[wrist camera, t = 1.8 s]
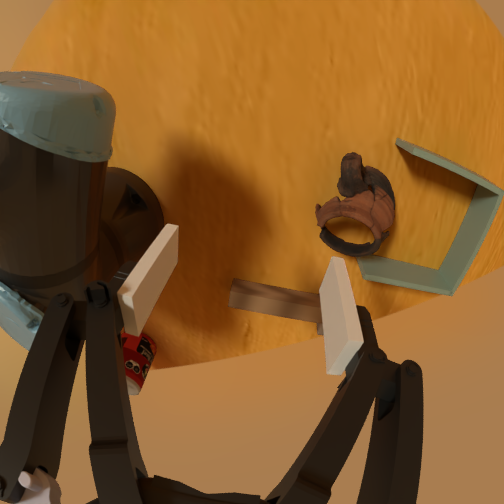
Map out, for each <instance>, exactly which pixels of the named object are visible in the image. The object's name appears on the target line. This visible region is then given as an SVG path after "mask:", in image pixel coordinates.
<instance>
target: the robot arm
mask: <svg viewBox="0 0 504 504" xmlns="http://www.w3.org/2000/svg"><path fill="white" fill-rule="evenodd" d="M115 116H116V106H115V102H114V100H113V98H112V96H111V95H110V94H109V93H108V92H107V91H106V90H105V89H103V88H102V87H100V86H98V85H96V84H93V83H90V82H88V81H84V80H81V79H77V78H73V77H69V76H64V75H59V74H52V73H44V72H33V71H21V72H0V326H1V327H2V328H3V330H5V332H6V333H8V334H9V335H10V336H11V337H12V338H13V339H14V340H15V341H17V342H18V343H19V344H20V345H21V346H23V347H24V348H26V349H27V350H28V351H29V353H28V356H27V358H26V361H25V364H24V367H23V369H22V373H21V375H20V379H19V382H18V385H17V388H16V391H15V395H14V398H13V402H12V406H11V410H10V414H9V418H8V422H7V426H6V431H5V436H4V440H3V442H2V444H1V446H0V500H2V501H5V502H7V503H10V504H61V503H60V497H61V490H60V487H59V484H58V483H57V481H56V480H55V479H56V477H57V473H58V469H59V464H60V458H61V450H62V442H63V435H64V429H65V423H66V417H67V412H68V406H69V402H70V397H71V392H72V387H73V383H74V379H75V375H76V371H77V367H78V362H79V359H80V356H81V352H82V348H83V345H84V341H85V340H86V386H87V401H88V413H89V422H90V431H91V438H92V442H91V444H90V446H89V455H90V460H91V466H92V471H93V476H94V481H95V486H96V490H97V494H98V498H96V499H94V500H92V501H90V502H88V503H86V504H327V502H328V500H329V499H330V496H331V487H332V485H333V484H334V482H335V480H336V478H337V477H338V475H339V473H340V471H341V469H342V467H343V466H344V464H345V462H346V460H347V458H348V456H349V454H350V452H351V450H352V448H353V445H354V444H355V442H356V440H357V438H358V435H359V433H360V431H361V429H362V427H363V425H364V422H365V420H366V418H367V415H368V413H369V411H370V408H371V406H372V403H373V401H374V398H375V397H376V399H375V407H374V416H373V423H372V430H371V437H370V443H369V449H368V454H367V460H366V465H365V470H364V475H363V479H362V483H361V488H360V492H359V496H358V500H357V504H416V500H417V494H418V486H419V479H420V470H421V459H422V443H423V379H422V370H421V368H420V366H419V365H418V364H417V363H416V362H414V361H412V360H405V361H404V362H403V363H402V364H401V365H400V364H397V363H395V362H392V361H390V360H388V359H387V356H386V354H385V353H384V352H383V350H381V349H380V348H378V343H377V339H376V335H375V332H374V328H373V324H372V320H371V316H370V313H369V312H368V310H367V309H366V308H365V307H364V306H358V305H356V304H355V300H354V296H353V292H352V288H351V284H350V280H349V276H348V273H347V269H346V265H345V261H344V258H339V257H334V256H332V258H331V261H330V263H329V266H328V269H327V271H326V274H325V276H324V279H323V282H322V284H321V287H320V289H319V293H320V302H321V312H322V322H323V332H324V344H325V355H326V369H327V374H331V375H341V374H342V373H343V371H344V370H345V371H346V377H345V378H344V380H343V381H342V382H341V384H340V385H339V386H338V387H337V388H339V389H338V391H337V393H336V395H335V397H334V398H333V400H332V402H331V404H330V406H329V407H328V409H327V411H326V413H325V414H324V416H323V418H322V419H321V421H320V423H319V425H318V426H317V428H316V429H315V431H314V433H313V434H312V436H311V438H310V439H309V441H308V442H307V444H306V445H305V447H304V449H303V450H302V452H301V453H300V455H299V456H298V458H297V459H296V461H295V462H294V464H293V465H292V466H291V468H290V469H289V471H288V472H287V473H286V475H285V476H284V478H283V479H282V480H281V482H280V483H279V484H278V485H277V486H276V487H275V488H274V489H273V491H272V492H271V493H270V494H269V495H268V496H267V498H266V499H265V500H262V499H260V495H249V494H241V493H218V494H206V493H203V492H200V491H198V490H196V489H194V488H192V487H189V486H187V485H185V484H183V483H181V482H179V481H175V480H171V479H167V478H163V477H160V476H157V475H154V478H149V477H148V474H147V471H146V468H145V465H144V462H143V460H142V457H141V453H140V450H139V445H138V441H137V436H136V432H135V427H134V422H133V417H132V412H131V406H130V400H129V394H128V388H127V381H126V374H125V366H124V357H123V348H122V337H121V333H120V332H121V330H122V328H123V326H124V329H125V333H128V334H131V335H134V336H138V337H139V335H140V333H141V331H142V329H143V327H144V325H145V323H146V321H147V319H148V317H149V315H150V314H151V312H152V310H153V308H154V306H155V304H156V302H157V300H158V298H159V296H160V294H161V292H162V290H163V289H164V287H165V285H166V283H167V281H168V279H169V277H170V275H171V274H172V272H173V270H174V268H175V266H176V264H177V263H178V234H179V226H178V225H173V224H166V226H165V227H164V219H163V214H162V210H161V207H160V205H159V202H158V200H157V198H156V196H155V195H154V193H153V192H152V190H151V189H150V188H149V187H148V185H147V184H146V183H145V182H144V181H143V180H141V179H140V178H139V177H138V176H136V175H135V174H133V173H131V172H129V171H127V170H124V169H121V168H116V167H107V166H108V160H109V159H110V157H111V155H112V151H113V148H112V146H111V142H112V135H113V128H114V122H115Z"/></svg>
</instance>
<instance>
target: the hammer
mask: <svg viewBox="0 0 504 504" xmlns="http://www.w3.org/2000/svg"><path fill="white" fill-rule="evenodd" d="M228 307H232V308H237V309H242V310H248V311H253V312H258V313H263V314H269V315H274V316H280V317H285V318H291V319H297V320H303V321H309V322H315V323H317V334H318V335H324V332H323V322H322V312H321V302H320V295H319V294H313V293H308V292H302V291H297V290H291V289H286V288H281V287H276V286H270V285H265V284H260V283H255V282H250V281H245V280H240V279H235V278H234V280H233V283H232V287H231V291H230V297H229V304H228Z"/></svg>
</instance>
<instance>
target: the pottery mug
mask: <svg viewBox="0 0 504 504" xmlns="http://www.w3.org/2000/svg"><path fill="white" fill-rule="evenodd" d="M368 185H371V186H372V191H373V193H372V191H370V190H368ZM337 187H338V190H339V193H340V194H341V195H342V196H344V197H346V198H345V199H344V200H342V201H340V199H339V197H337V196H336V197H334V198H333V199H331V200H330V201H328V202H326V203H325V204H324V205H323V206H322V207H321V206H320V205H319V204H317V205H316V211H315V213H316V217H317V220H318V223H317V225H318V226H320V227H321V229H322V231H321V233H320V238H321V239H322V241H323V242H324V243H326V245H328V246H329V247H330V248H332V249H333V250H335V251H337V252H340V253H342V254H344V255H349V256H354V257H364V256H368V255H371V254H373V253H375V252H376V251H377V250H378V249H379V247H380V245H381V243H382V242H383V241H384V240H385V239H386V238H387V237H388V235H389V231H387V232H386V233H383V231H384V230H386V229H387V228H389V227H390V226H391V225H392V224H393V220H394V217H395V215H394V210H395V197H394V192H393V190H392V187H391V184H390V182H389V180H388V179H387V177H386V176H385V175H384V174H383V173H382V172H380V171H379V170H377V169H375V168H373V167H370V166H366V167H364V166H363V164H362V158H361V156H360V155H358V154H356V153H354V152H352V153H347V154H346V155H345V156H344V157H343V159H342V162H341V178H339V182H338V184H337ZM341 216H344V217H350V218H353V219H356V220H358V221H360V222H362V223H364V224H365V225H366V226H368V227H369V228H370V230H371V231H372V232H373V234H374V238H375V240H374V242H373V243H372V244H370V242H368V243H365V244H353V243H349V242H345V241H344V240H342V239H340V238H338V237H336V236H335V235H333V234H332V233H331V232H330V231H329V230H328V229H327V228H326V226H325V223H326V222H327V221H328V220H330V219H332V218H335V217H341Z"/></svg>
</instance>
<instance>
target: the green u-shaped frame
mask: <svg viewBox="0 0 504 504" xmlns="http://www.w3.org/2000/svg"><path fill="white" fill-rule="evenodd" d="M396 145H398V146H399V147H401V148H403V149H405V150H406V151H408V152H409V153H411V154H413V155H416V156H418V157H421V158H423V159H425V160H428V161H430V162H433V163H435V164H437V165H440V166H442V167H444V168H446V169H449V170H451V171H453V172H455V173H457V174H459V175H461V176H463V177H466V178H468V179H470V180H472V181H474V182H476V183H477V184H478V185H477V188H476V191H475V193H474V196H473V198H472V201H471V203H470V206H469V208H468V211H467V213H466V215H465V218H464V220H463V222H462V224H461V227H460V229H459V231H458V233H457V235H456V237H455V239H454V241H453V243H452V245H451V248H450V249H449V251H448V253H447V255H446V257H445V259H444V261H443V263H442V265H441V267H440V269H439V270H435V269H431V268H427V267H423V266H419V265H414V264H410V263H406V262H402V261H397V260H393V259H389V258H384V257H380V256H376V255H368V256H364V257H356V259H357V262H358V265H359V268H360V271H361V274H362V277H363V279H365V280H370V281H375V282H380V283H385V284H391V285H396V286H401V287H406V288H411V289H417V290H422V291H427V292H432V293H438V294H443V295H449V296H453V294H454V292H455V291H456V289H457V288H458V286H459V284H460V283H461V281H462V279H463V278H464V276H465V274H466V273H467V271H468V269H469V267H470V266H471V264H472V262H473V260H474V258H475V256H476V254H477V253H478V251H479V249H480V247H481V245H482V243H483V241H484V239H485V237H486V235H487V232H488V230H489V228H490V226H491V224H492V222H493V219H494V217H495V215H496V212H497V210H498V208H499V205H500V203H501V200H502V198H503V195H504V191H503V190H502V189H500V188H499V187H498V186H496V185H495V184H493V183H492V182H490V181H489V180H487V179H486V178H484V177H482V176H480V175H479V174H477V173H475V172H473V171H471V170H469V169H467V168H465V167H463V166H461V165H459V164H457V163H455V162H453V161H451V160H449V159H447V158H444V157H442V156H440V155H438V154H436V153H433V152H431V151H429V150H426V149H424V148H422V147H419V146H417V145H414V144H412V143H409V142H407V141H404V140H402V139H399V138H397V140H396Z"/></svg>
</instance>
